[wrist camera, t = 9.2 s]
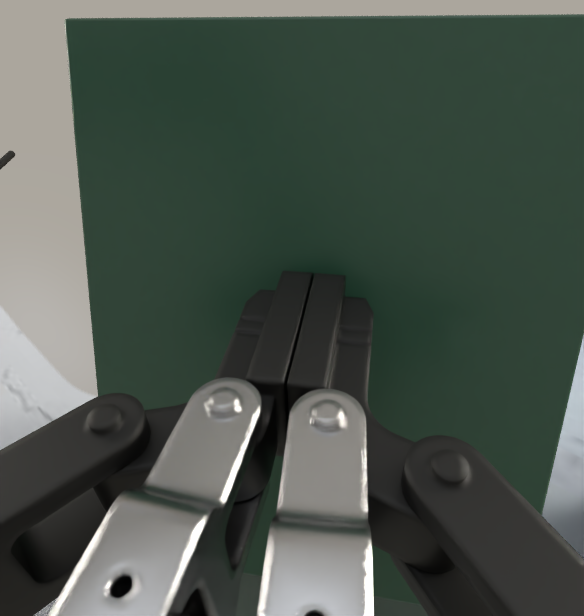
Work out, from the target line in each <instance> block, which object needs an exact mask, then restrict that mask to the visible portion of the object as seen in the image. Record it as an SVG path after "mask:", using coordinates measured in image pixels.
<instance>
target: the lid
mask: <svg viewBox="0 0 584 616" xmlns="http://www.w3.org/2000/svg"><path fill="white" fill-rule="evenodd" d="M65 32H66V43H67V55H68V66H69V77H70V88H71V99H72V110H73V121H74V132H75V143H76V155H77V166H78V177H79V188H80V199H81V210H82V222H83V232H84V244H85V255H86V266H87V275H88V276H87V277H88V288H89V299H90V311H91V321H92V333H93V343H94V354H95V365H96V377H97V388H98V397H99V396H102V395H105V394H110V393H124V394H129V395H132V396H134V397H135V398H137V399H138V400H139V401H140V402H141V404H142V405H143V408H144V410H150V409H157V408H163V407H170V406H176V405H180V404H183V403H187V402H189V400H190V398H191V397H192V395H193V394H194V393H195V392H196V390H197V389H199V388H200V387H201V386H203V385H204V384H206V383H208V382H210V381H212V380H214V379H215V376H216V374H217V371H218V369H219V367H220V364H221V362H222V359H223V357H224V354H225V352H226V350H227V347H228V345H229V342H230V340H231V337H232V335H233V333H234V332H235V328H236V325H237V323H238V320H240V315H241V313H242V311H243V308H244V306H245V303H246V301H247V300H249V299H250V298H251V297H252V296H253V295H254V294H255V293H256V292H257V291H259V290H260V289H263V290H275V291H276V288H277V285H278V282H279V279H280V276H281V274H282V271H283V270H284V271H297V272H310V273H314V275H315V273H324V274H337V275H346V286H345V296H346V297H358V298H366V300H367V302H368V303H369V305H370V307H371V309H372V311H373V313H374V316H373V329H372V342H371V355H370V368H369V381H368V394H367V401H368V406H369V408H370V411H371V413H372V414H373V416H374V418H375V419H376V420H377V421H378V422H379V423H380V424H381V425H382V426H383V427H385V428H386V429H388V430H389V431H391V432H393V433H395V434H397V435H399V436H402V437H404V438H406V439H409V440H411V441H413V442H417V441H419V440H420V439H422V438H425V437H428V436H433V435H445V436H451V437H455V438H457V439H460V440H462V441H464V442H466V443H468V444H470V445H471V446H473V447H474V448H475V449H476V450H477V451H479V452H480V453H481V454H482V455H483V456H484V457H485V458H486V459H487V460H488V461H489V462H490V463H491V465H492V466H493V467H494V468H495V469H496V470H497V471H498V472H499V473H500V474H501V475H502V476H503V477H504V478H505V479H506V480H507V481H508V482H509V483H510V484H511V485H512V486H513V487H514V488H515V489H516V490H517V491H518V492H519V493H520V494H521V495H522V496H523V497H524V498H525V499H526V500H527V501H528V502H529V503H530V504H531V505H532V506H533V507H534V509H535V510H536V511H537V512H538V513H539V514H540V515H541V516H542V511H543V507H544V503H545V498H546V494H547V490H548V485H549V481H550V477H551V472H552V468H553V464H554V459H555V455H556V451H557V447H558V442H559V438H560V434H561V429H562V425H563V421H564V416H565V412H566V408H567V403H568V399H569V395H570V390H571V386H572V382H573V377H574V373H575V369H576V365H577V360H578V356H579V352H580V347H581V343H582V339H583V334H584V15H583V14H577V15H573V14H572V15H455V16H454V15H448V16H447V15H446V16H334V17H333V16H321V17H201V18H200V17H196V18H81V19H80V18H79V19H78V18H77V19H75V18H71V19H65ZM283 460H284V457H283V456H275V460H274V464H273V469H272V473H271V477H270V488H269V492H268V495H267V499H266V502H265V505H264V508H263V511H262V514H261V517H260V521H259V524H258V527H257V530H256V533H255V536H254V539H253V542H252V546H251V549H250V552H249V555H248V558H247V561H246V564H245V568H244V571H243V573H246V574H251V575H257V576H262V575H263V568H264V561H265V554H266V547H267V540H268V534H269V529H270V524H271V521H272V518H273V517H275V515H276V510H277V504H278V497H279V489H280V482H281V475H282V467H283ZM372 575H373V596H374V597H379V598H385V599H390V600H396V601H401V602H407V603H412V604H418V605H421V604H420V602H419V601H418V599H417V598H416V596H415V595H414V593H413V592H412V590H411V589H410V587H409V586H408V584H407V583H406V581H405V580H404V578H403V577H402V575H401V574H400V572H399V571H398V569H397V568H396V566H395V564H394V563H393V561H392V558H391V556H390V554H389V553H387V552H385V551H383V550H381V549H379V548H377V547H376V546H374V545H372Z"/></svg>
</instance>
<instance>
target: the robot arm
mask: <svg viewBox="0 0 584 616" xmlns="http://www.w3.org/2000/svg"><path fill="white" fill-rule="evenodd" d="M14 156H15V153H14V152H13V151H9V152H8V153H6V154H5V155H4V156H3V157H2V158H1V159H0V169H1V168H2V167H3V166H5V165H6V164H7V163H8V162H9V161H10V160H11V159H12V158H13V157H14ZM345 286H346V275H337V274H324V273H315V275H314V273H310V272H297V271H284V270H283V271H282V274H281V276H280V279H279V282H278V285H277V288H276V291H275V290H263V289H260V290H259V291H257V292H256V293H255V294H254V295H253V296H252V297H251V298H250V299H249V300H247V301H246V303H245V306H244V308H243V311H242V313H241V315H240V320H238V323H237V325H236V328H235V332H234V333H233V335H232V337H231V340H230V342H229V345H228V347H227V350H226V352H225V354H224V357H223V359H222V362H221V364H220V367H219V369H218V371H217V374H216V376H215V379H214V380H212V381H210V382H208V383H206V384H204V385H203V386H201V387H200V388H199V389H197V390H196V392H195V393H194V394H193V395H192V397H191V398H190V400H189V402H187V403H183V404H180V405H176V406H170V407H163V408H157V409H150V410H144V408H143V405H142V404H141V402H140V401H139V400H138V399H137V398H135V397H134V396H132V395H129V394H124V393H110V394H105V395H102V396H99V397H96V398H94V399H92V400H90V401H88V402H86V403H85V404H83V405H81V406H79V407H77V408H76V409H74V410H72V411H70V412H68V413H67V414H65V415H63V416H61V417H59V418H58V419H56V420H54V421H52V422H50V423H49V424H47V425H45V426H43V427H41V428H40V429H38V430H36V431H34V432H32V433H31V434H29V435H27V436H25V437H23V438H22V439H20V440H18V441H16V442H14V443H13V444H11V445H9V446H7V447H5V448H4V449H2V450H0V616H33V615H35V614H36V613H37V612H39V611H40V610H41V609H43V608H44V607H45V606H47V605H48V604H49V603H51V602H52V601H53V600H55V599H56V598H57V597H58V599H57V600H56V602H55V604H54V606H53V607H52V609H51V611H50V612H49V614H48V616H235V615H236V610H237V605H238V597H239V587H240V582H241V578H242V574H243V571H244V568H245V564H246V561H247V558H248V555H249V552H250V549H251V546H252V542H253V539H254V536H255V533H256V530H257V527H258V524H259V521H260V517H261V514H262V511H263V508H264V505H265V502H266V499H267V495H268V492H269V488H270V477H271V473H272V469H273V464H274V460H275V456H283V457H284V460H283V467H282V475H281V482H280V489H279V497H278V504H277V510H276V515H275V517H273V518H272V521H271V524H270V529H269V534H268V540H267V547H266V554H265V561H264V568H263V575H262V582H261V589H260V596H259V603H258V610H257V616H373V575H372V545H374V546H376V547H377V548H379V549H381V550H383V551H385V552H387V553H389V554H390V556H391V558H392V561H393V563H394V564H395V566H396V568H397V569H398V571H399V572H400V574H401V575H402V577H403V578H404V580H405V581H406V583H407V584H408V586H409V587H410V589H411V590H412V592H413V593H414V595H415V596H416V598H417V599H418V601H419V602H420V604H421V605H422V607H423V608H424V610H425V611H426V613H427V614H428V616H584V559H583V558H582V557H581V556H580V555H579V554H578V553H577V552H576V550H575V549H574V548H573V547H572V546H571V545H570V544H569V543H568V542H567V541H566V540H565V539H564V538H563V537H562V536H561V535H560V534H559V533H558V532H557V531H556V530H555V529H554V528H553V527H552V526H551V525H550V524H549V523H548V522H547V521H546V520H545V519H544V518H543V517H542V516H541V515H540V514H539V513H538V512H537V511H536V510H535V509H534V507H533V506H532V505H531V504H530V503H529V502H528V501H527V500H526V499H525V498H524V497H523V496H522V495H521V494H520V493H519V492H518V491H517V490H516V489H515V488H514V487H513V486H512V485H511V484H510V483H509V482H508V481H507V480H506V479H505V478H504V477H503V476H502V475H501V474H500V473H499V472H498V471H497V470H496V469H495V468H494V467H493V466H492V465H491V463H490V462H489V461H488V460H487V459H486V458H485V457H484V456H483V455H482V454H481V453H480V452H479V451H477V450H476V449H475V448H474V447H473V446H471V445H470V444H468V443H466V442H464V441H462V440H460V439H457V438H455V437H451V436H445V435H433V436H428V437H425V438H422V439H420V440H419V441H417V442H413V441H411V440H409V439H406V438H404V437H402V436H399V435H397V434H395V433H393V432H391V431H389V430H388V429H386V428H385V427H383V426H382V425H381V424H380V423H379V422H378V421H377V420H376V419H375V418H374V416H373V414H372V413H371V411H370V408H369V406H368V401H367V394H368V381H369V368H370V355H371V342H372V329H373V316H374V313H373V311H372V309H371V307H370V305H369V303H368V302H367V300H366V298H358V297H346V296H345Z"/></svg>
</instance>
